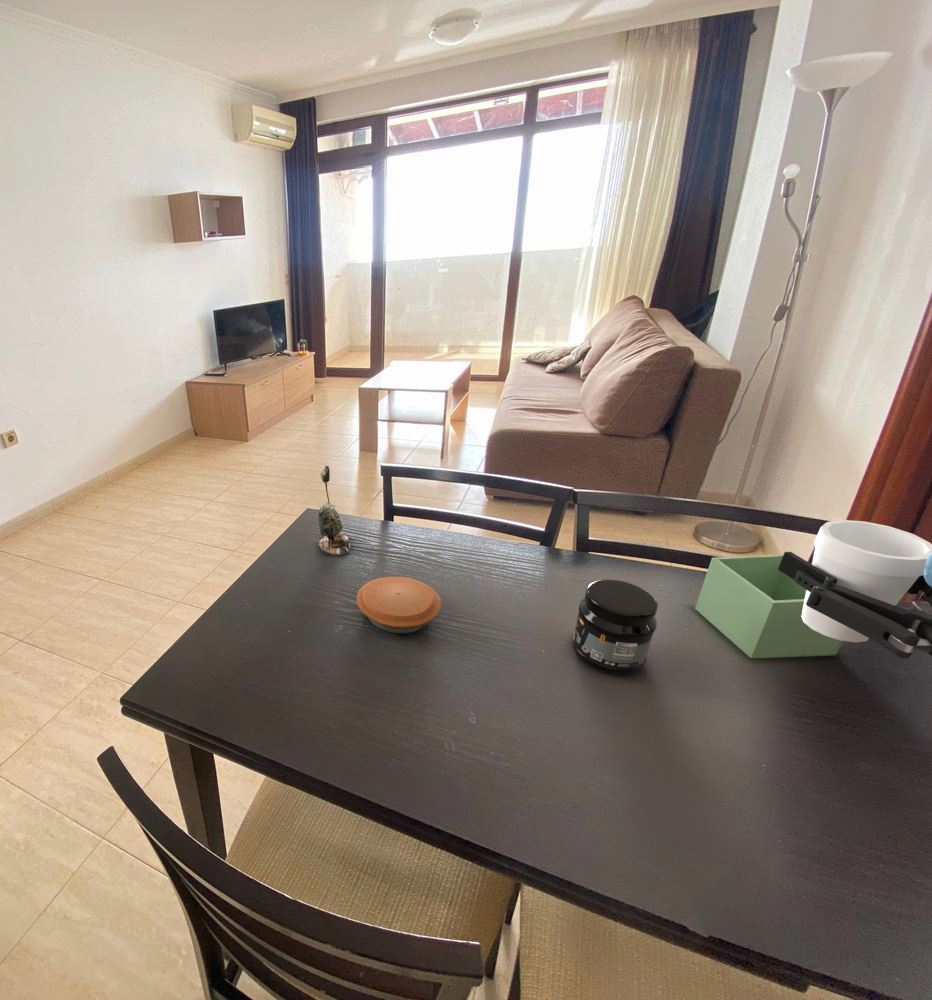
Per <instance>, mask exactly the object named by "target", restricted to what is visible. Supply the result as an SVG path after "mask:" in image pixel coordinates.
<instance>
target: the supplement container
mask: <svg viewBox="0 0 932 1000" xmlns="http://www.w3.org/2000/svg"><path fill="white" fill-rule="evenodd" d="M658 608H659V604H658V601H657V599H656V598H655V597H654V595H652V594H651V593H650V592H649V591H648V590H646V589H644V588H642V587H641V586H639V585H636V584H633V583H630V582H627V581H623V580H617V579H601V580H600V579H599V580H596V581H593V582H591V583H590V584H588V586H587V587H586V590H585V594H584V598H583V599H582V600H581V601H580V603H579V604H578V614H577V618H576V622H575V627H574V632H573V636H572V639H571V646H572V650H573V652H574V653H575V654H576V656H577V657H578V658H579V659H580V660H581V661H582V662H583V663H585V664H586V665H588V666H590V667H591V668H593V669H595V670H598V671H601V672H603V673H606V674H611V675H619V676H625V675H632V674H635V673H637V672H639V671H641V670H642V669H643V668H644V666H645V664H646V661H647V656H648V652H649V649H650V645H651V643H652V639H653V636H654V633H655V631H656V630H657V627H658V622H657V618H656V616H657V615H656V614H657V612H658Z"/></svg>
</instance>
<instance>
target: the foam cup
mask: <svg viewBox="0 0 932 1000" xmlns="http://www.w3.org/2000/svg"><path fill="white" fill-rule="evenodd" d="M813 545H814V546H815V547H814V552H813V557H812V562H811V564H812V565H814V566H815V567H817V568H819V569H820V570H822V571H824V572H825V573H827V574H829V575H830V576H832V577H834V578H836V579H837V580H838V581H837V583H836V584H837V585H839V586H842V587H845V588H848V589H850V590H853V591H856V592H859V593H861V594H864V595H867V596H870V597H872V598H875V599H878V600H881V601H883V602H886V603H889V604H892V605H894V606H897V605H898V604H899V602H900V601H901V600H902V599H903V597H904V596H905V595H906V593H907V591H908V590H909V588H910V587H911V586H912V585H913V583H914V582H915V581H916V580H917V579H918V577H919V576H923V574H924V569H925V564H926V561H927V558H928V556H929V555H930V553H931V551H932V543H931V542H929V541H928V540H926V539H924V538H922V537H920V536H918V535H917V534H914V533H911V532H909V531H905V530H902V529H899V528H896V527H893V526H889V525H885V524H879V523H875V522H869V521H863V520H850V519H840V520H839V519H838V520H831V521H826V522H825V523H824V524H823V525H821V526H820V528H819V530H818V533H817V534H816V537H815V540H814V542H813ZM810 593H811V592H809V591H808V590H806V595H805V600H804V605H803V609H802V616H801V617H802V619H803V622H804V623H805V624H806V625H808V626H809V627H810V628H811V629H813V630H815V631H817V632H819V633H821V634H823V635H825V636H828V637H831V638H834V639H837V640H841V641H843V642H849V643H862V642H867V641H868V640H869V639H870V638H868V637H866V636H864V635H862V634H860V633H859V632H857V631H855V630H853V629H851V628H849V627H847V626H845V625H843V624H841V623H839V622H837V621H835V620H833V619H831V618H830V617H828V616H826V615H824V614H822V613H820V612H818V611H816V610H814V609H812V608H810V607H808V606H807V605H806V602H807V600H808V598H809V595H810ZM835 594H836V593H835Z"/></svg>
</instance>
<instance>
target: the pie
mask: <svg viewBox="0 0 932 1000" xmlns="http://www.w3.org/2000/svg"><path fill="white" fill-rule="evenodd" d="M356 603H357V607H358V609H360V611H361V613H362V614H363V615H365V616H366V617H367V618H368V620H369V621H370V622H371V623H372V624H373V625H374V626H376V627H377V628H378V629H381V630H383V631H385V632H389V633H393V634H410V633H414V632H417V631H419V630H421V629H422V628H423V627H425V626H426V625H427V624H428V623H429V622H430V621H432V620H433V619H435V618H437V617H438V614H439V612H440V610H441V606H442V599H441V598H440V596H439V594H438V593H437V592H436V591H435V590H434V589H433V588H432V587H431V586H429V585H427V584H426V583H424V582H422V581H419V580H417V579H415V578H411V577H404V576H386V577H379V578H376V579H373V580H370V581H368V582H367V583H366V584H364V585H362V587H360V589H359V590H358V591H357V595H356Z"/></svg>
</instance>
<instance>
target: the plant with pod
mask: <svg viewBox="0 0 932 1000" xmlns="http://www.w3.org/2000/svg"><path fill="white" fill-rule="evenodd" d="M330 471H331V470H330V467H329V465H324V467H323V468H322V470H321V471H320V479H321V481H322V482H323V483H324V485H325V491H326V497H327V498H326V499H327V503H325V504H323V505H321V506H320V508H317V511H318V517H317V521H318V522H317V523H318V526H319V534H320V535H321V536H322V538H321V539H320V540H319V542H318V543H317V545H318V546H319V547H320V549H321V550H322V552H323V553H324V554H327V555H333V556H336V555H337V556H338V555H341V556H342V555H345V554H347V553H348V552H349V551H350V548H351V546H352V545H351V542H350V538H349V536H347V535H346V534H344V533H343V532H342V530H343V529H344V526H343V519H342V518H341V514H340V512H339V511H338V510H337V508H336V506H335V505H334V504H331V503H330V498H329V491H328V483H329V482H330V479H331V477H330V476H331V473H330Z"/></svg>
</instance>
